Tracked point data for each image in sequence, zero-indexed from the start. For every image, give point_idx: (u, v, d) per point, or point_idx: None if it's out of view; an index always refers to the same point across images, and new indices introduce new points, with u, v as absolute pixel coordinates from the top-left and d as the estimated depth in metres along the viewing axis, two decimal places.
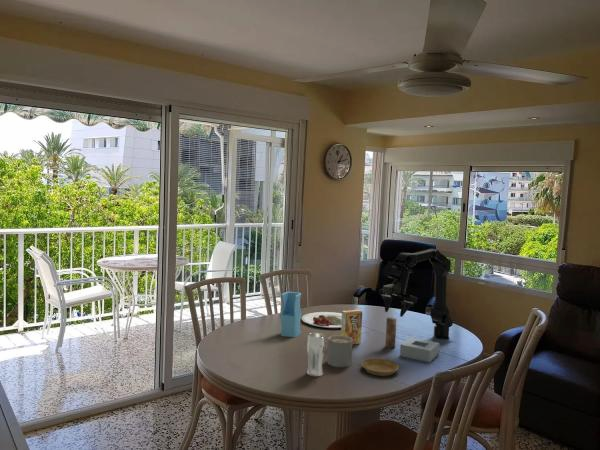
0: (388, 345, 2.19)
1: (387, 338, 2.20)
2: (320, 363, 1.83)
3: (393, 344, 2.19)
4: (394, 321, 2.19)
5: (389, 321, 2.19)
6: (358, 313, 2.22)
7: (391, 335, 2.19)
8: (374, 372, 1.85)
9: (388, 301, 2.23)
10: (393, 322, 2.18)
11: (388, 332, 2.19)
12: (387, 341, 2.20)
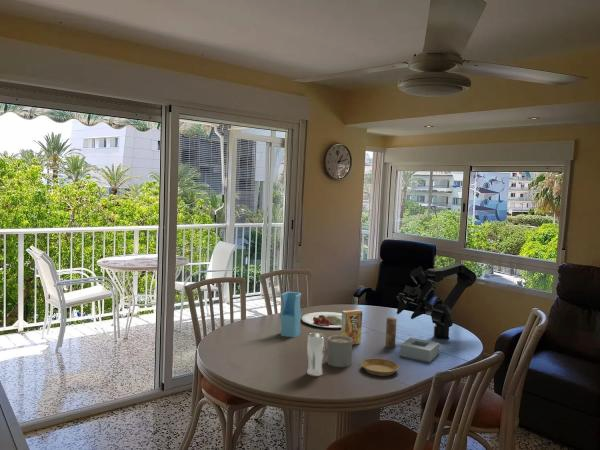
0: (388, 345, 2.19)
1: (387, 338, 2.20)
2: (320, 363, 1.83)
3: (393, 344, 2.19)
4: (394, 321, 2.19)
5: (389, 321, 2.19)
6: (358, 313, 2.22)
7: (391, 335, 2.19)
8: (374, 372, 1.85)
9: (402, 306, 2.30)
10: (393, 322, 2.18)
11: (388, 332, 2.19)
12: (387, 341, 2.20)
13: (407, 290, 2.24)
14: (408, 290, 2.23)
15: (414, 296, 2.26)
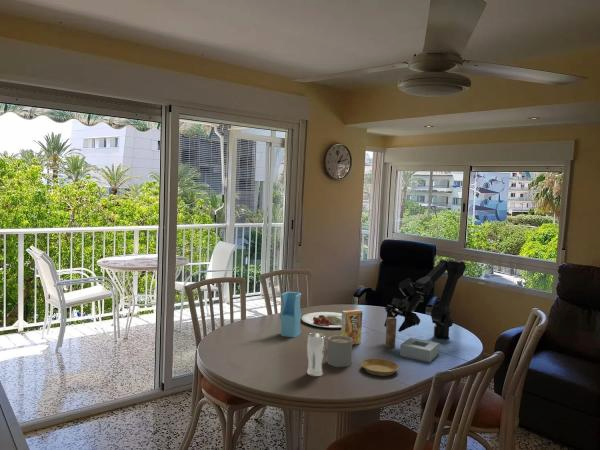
0: (388, 345, 2.19)
1: (387, 338, 2.20)
2: (320, 363, 1.83)
3: (393, 344, 2.19)
4: (394, 321, 2.19)
5: (389, 321, 2.19)
6: (358, 313, 2.22)
7: (391, 335, 2.19)
8: (374, 372, 1.85)
9: None
10: (393, 322, 2.18)
11: (388, 332, 2.19)
12: (387, 341, 2.20)
13: (395, 302, 2.21)
14: (396, 302, 2.20)
15: (402, 308, 2.22)
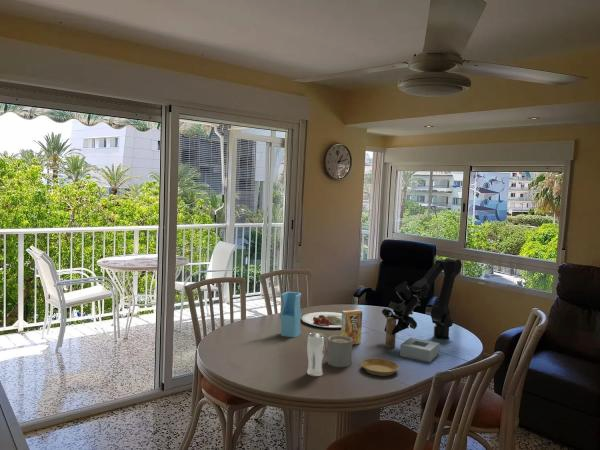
0: (388, 345, 2.19)
1: (387, 338, 2.20)
2: (320, 363, 1.83)
3: (393, 344, 2.19)
4: (394, 321, 2.19)
5: (389, 321, 2.19)
6: (358, 313, 2.22)
7: (391, 335, 2.19)
8: (374, 372, 1.85)
9: None
10: (393, 321, 2.18)
11: (388, 332, 2.19)
12: (387, 341, 2.20)
13: (391, 306, 2.20)
14: (392, 306, 2.19)
15: (399, 312, 2.21)
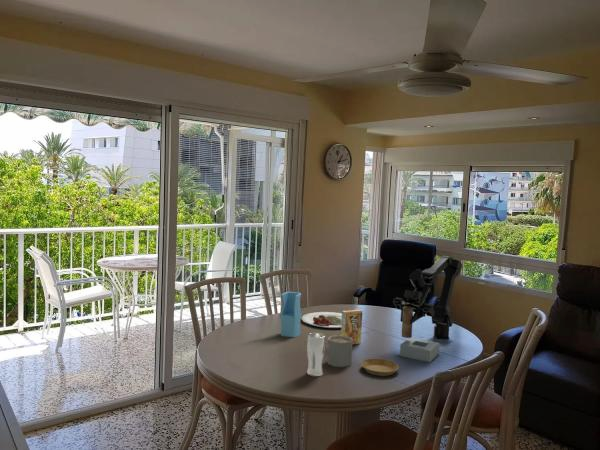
0: (406, 335, 2.12)
1: (405, 328, 2.12)
2: (320, 363, 1.83)
3: (410, 334, 2.13)
4: (412, 310, 2.12)
5: (407, 310, 2.11)
6: (358, 313, 2.22)
7: (409, 325, 2.12)
8: (374, 372, 1.85)
9: None
10: (411, 310, 2.12)
11: (406, 322, 2.12)
12: (405, 331, 2.12)
13: (408, 295, 2.12)
14: (410, 295, 2.12)
15: (414, 300, 2.15)
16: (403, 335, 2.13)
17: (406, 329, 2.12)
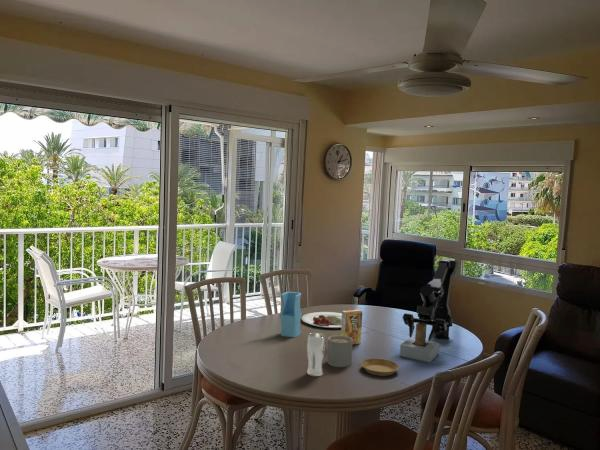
0: None
1: None
2: (320, 363, 1.83)
3: None
4: (425, 327, 2.09)
5: (421, 328, 2.08)
6: (358, 313, 2.22)
7: (423, 342, 2.09)
8: (374, 372, 1.85)
9: (412, 327, 2.14)
10: (425, 328, 2.08)
11: (420, 339, 2.08)
12: None
13: (422, 311, 2.09)
14: (423, 311, 2.09)
15: (426, 316, 2.12)
16: None
17: None
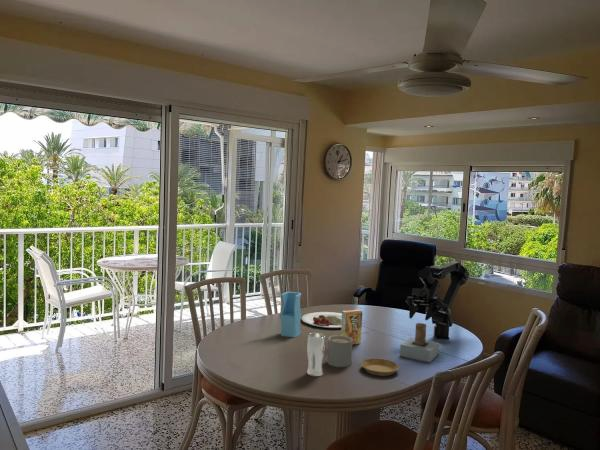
0: None
1: None
2: (320, 363, 1.83)
3: None
4: (425, 327, 2.09)
5: (421, 328, 2.08)
6: (358, 313, 2.22)
7: (423, 342, 2.09)
8: (374, 372, 1.85)
9: (413, 309, 2.27)
10: (425, 328, 2.08)
11: (420, 339, 2.08)
12: None
13: (415, 292, 2.21)
14: (416, 292, 2.20)
15: (423, 297, 2.23)
16: None
17: None
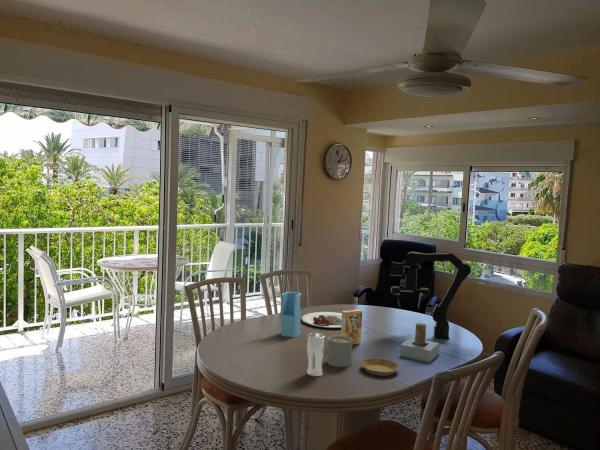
0: None
1: None
2: (320, 363, 1.83)
3: None
4: (425, 327, 2.09)
5: (421, 328, 2.08)
6: (358, 313, 2.22)
7: (423, 342, 2.09)
8: (374, 372, 1.85)
9: (419, 298, 2.42)
10: (425, 328, 2.08)
11: (420, 339, 2.08)
12: None
13: None
14: None
15: None
16: None
17: None
